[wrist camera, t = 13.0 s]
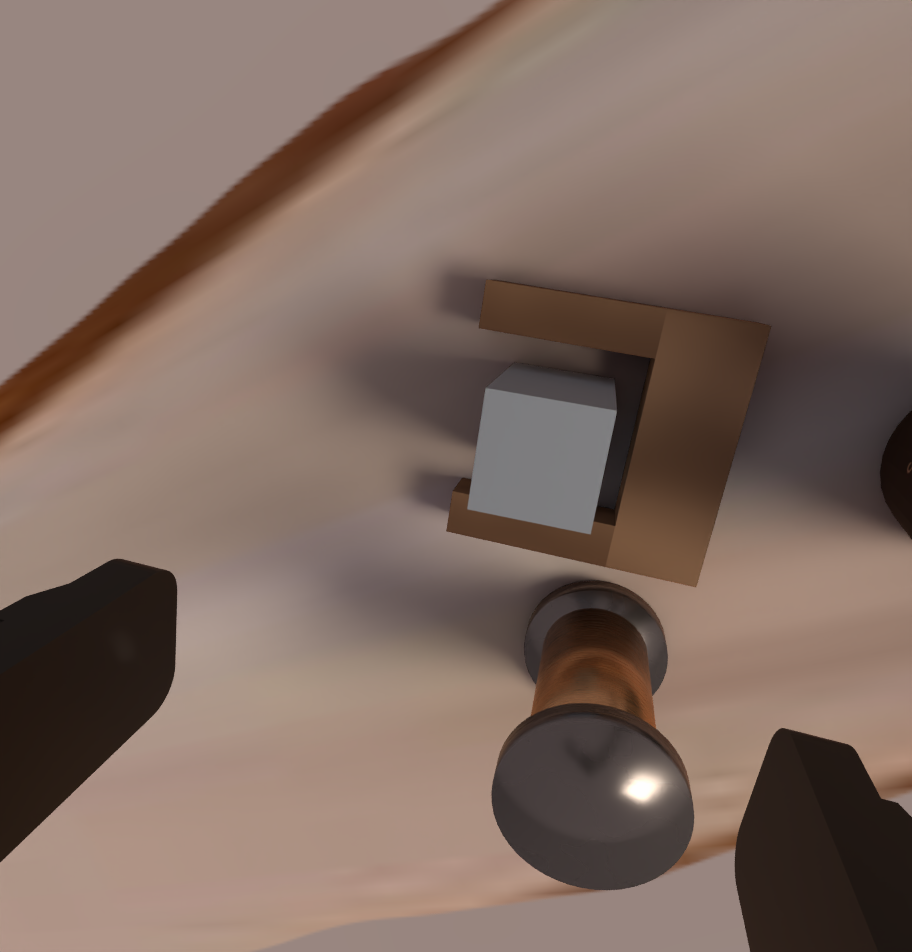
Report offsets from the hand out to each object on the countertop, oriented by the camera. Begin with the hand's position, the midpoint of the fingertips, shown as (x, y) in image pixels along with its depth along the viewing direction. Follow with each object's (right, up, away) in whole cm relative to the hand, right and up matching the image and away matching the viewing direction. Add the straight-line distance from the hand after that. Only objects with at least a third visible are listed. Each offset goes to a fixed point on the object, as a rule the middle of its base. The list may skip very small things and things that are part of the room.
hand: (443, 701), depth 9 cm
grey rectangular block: (+4, +5, +19) cm, 20 cm away
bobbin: (+6, -4, +21) cm, 22 cm away
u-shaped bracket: (+6, +5, +18) cm, 20 cm away
